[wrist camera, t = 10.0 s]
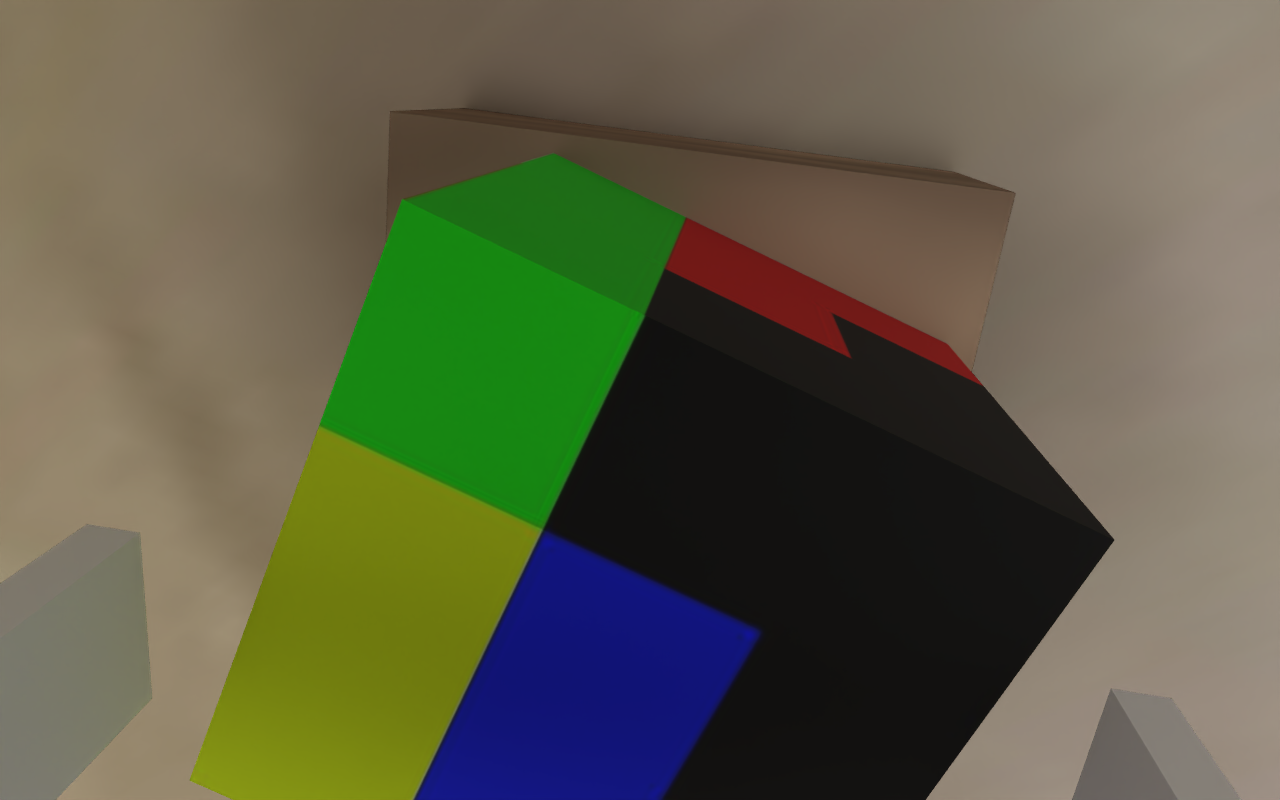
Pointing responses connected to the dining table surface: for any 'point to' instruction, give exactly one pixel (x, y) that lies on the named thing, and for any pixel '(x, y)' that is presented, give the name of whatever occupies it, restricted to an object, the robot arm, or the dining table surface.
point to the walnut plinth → (758, 205)
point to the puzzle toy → (637, 528)
